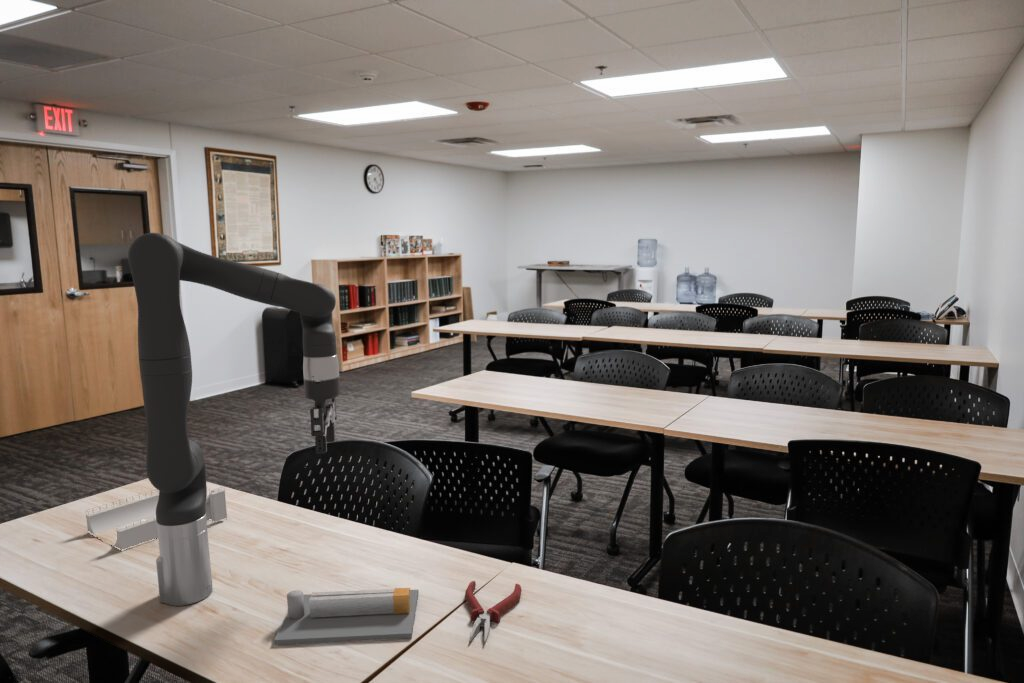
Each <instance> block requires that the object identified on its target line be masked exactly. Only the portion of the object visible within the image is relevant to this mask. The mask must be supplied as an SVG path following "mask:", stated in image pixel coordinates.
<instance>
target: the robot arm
mask: <svg viewBox="0 0 1024 683" xmlns="http://www.w3.org/2000/svg"><path fill="white" fill-rule="evenodd" d="M127 261H128V265H129V269H130V273H131V277H132V278H131V279H132V280H133V281H132V282H133V286H134V292H135V297H136V303H137V304H136V305H137V347H138V348H137V350H138V351H137V352H138V354H137V355H138V365H139V367H138V368H139V375H140V382H141V389H142V398H143V399H142V400H143V401H142V402H143V408H144V414H145V421H146V460H145V461H146V462H145V463H146V464H145V465H146V466H145V467H146V468H145V469H146V470H145V471H146V476H147V478H148V480H149V482H150V484H151V485H152V486H153V487H154V488H155V490H157V489H158V493H159V498H158V503H157V507H156V521H157V530H158V539H157V540H158V548H159V549H158V550H159V556H157V558H156V559H155V565H156V566H155V567H156V573H157V583H158V594H159V602H160V603H161V604H162V603H164V604H168V605H170V606H174V607H175V606H176V607H177V606H178V607H179V606H188V605H191V604H195V603H198V602H200V601H202V600H205V599H206V598H208V597H209V595H211V594H212V592H213V578H212V566H211V556H210V555H211V554H210V546H209V545H210V544H209V543H210V542H209V533H208V531H209V530H208V525H207V524H208V523H207V522H208V521H207V520H206V508H205V505H206V499H207V498H208V496H207V494H208V489H207V488H208V487H207V474H206V473H207V472H206V461H205V455H204V452H203V450H202V448H201V446H200V445H199V444H198V443H197V442H196V441H194V440H192V439H190V438H189V433H188V432H189V431H188V415H189V414H188V412H189V406H190V400H191V394H192V388H193V387H192V386H193V385H192V384H193V368H192V366H193V365H192V355H191V354H192V353H191V345H190V340H189V335H188V331H187V328H186V324H185V320H184V317H183V313H182V309H181V300H180V299H181V298H180V293H181V292H180V289H181V288H180V287H181V286H180V285H181V284H180V281H181V282H189V283H195V284H200V285H203V286H207V287H210V288H214V289H217V290H220V291H223V292H226V293H229V294H231V295H234V296H238V297H240V298H243V299H246V300H249V301H254V302H257V303H262V304H265V305H269V306H274V307H279V308H284V309H286V310H289V311H293V312H296V313H299V315H300V316H299V317H300V323H301V329H302V351H303V352H302V353H303V359H302V360H303V361H302V362H303V364H302V370H303V372H302V373H303V388H304V398H306V399H307V400H311V401H314V406H312V408H310V410H309V414H310V436H311V437H312V438H314V441H315V452H316V454H318V455H320V454H321V455H322V454H323V455H324V454H327V451H328V445H327V444H328V443H333V442H335V441H336V435H335V434H336V433H335V426H336V421H337V420H338V419H337V418H338V416H337V405H336V404H337V403H336V398H338V397H339V396H340V394H341V380H340V365H339V359H338V352H337V350H338V349H337V337H336V333H335V332H336V331H335V330H334V326H333V325H334V324H333V311H334V309H335V307H336V300H337V299H336V296H335V294H334V292H333V291H332V290H331V288H329V287H327V286H326V285H323V284H320V283H314V282H310V281H305V280H302V279H297V278H292V277H290V276H288V275H286V274H283V273H280V272H277V271H274V270H271V269H268V268H264V267H260V266H256V265H251V264H246V263H243V262H238V261H233V260H229V259H225V258H221V257H218V256H214V255H212V254H211V255H210V254H208V253H205V252H202V251H199V250H196V249H194V248H192V247H190V246H188V245H185V244H182V243H180V242H178V241H177V240H175V239H174V238H172V237H170V236H168V235H166V234H164V233H158V232H147V233H143V234H141V235H140V236H138V237H136V238H135V239H134V240H133V241H132V243H131V244H130V246H129V248H128V251H127ZM319 428H320V430H318V429H319Z"/></svg>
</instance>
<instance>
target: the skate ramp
mask: <svg viewBox="0 0 1024 683" xmlns="http://www.w3.org/2000/svg"><path fill="white" fill-rule="evenodd" d="M156 490H157V491H155V494H153V492H154V490H152V489H151V490H150V491H148V493H145V495H144V493H139V494H138V496H136V497H135V498H134V495H133V496H130V497H127V498H125V500H124V498H123V499H121V500H118V502H121V501H122V500H124V501H122V503H119V504H118V503H115V502H114V501H113V502H109V503H108V505H109V504H110V505H111V504H112V505H113V506H112V507H108V505H105V506H104V504H103V505H101V506H98V507H99V508H98V509H95V510H94V507H93V508H91V509H88V511H87V512H86V513H85V517H86V518H85V519H86V526H87V528H86V529H87V532H88V531H90V532H91V533H93V534H96V533H100V532H104V531H107V530H110V529H114V528H116V527H121V526H124V525H126V524H129V523H132V522H135V521H139V520H140V523H137V524H134V523H133V525H131V526H128V527H127V526H126V527H125V528H122V529H119V530H117V529H118V528H117V529H116V532H117V540H116V543H115V545H114V546H116V547H118V548H120V549H121V550H122V549H125V548H128V547H130V546H134V545H137V544H139V543H142V542H145V541H149V540H152V539H155V538H158V530H157V521H156V517H155V518H152V519H149V520H148V519H147V518H151V517H154V516H156V507H157V503H158V498H159V490H158V489H156ZM225 490H226V489H225V486H224V485H222V484H221V485H220V487H218V488H215V489H210V488H209V490H208V491H209V494H208V496H207V497H206V505H205V508H206V520H209V519H212V520H211V524H212V523H213V524H214V525H215V524H216V525H217V522H219V521H221V520H223V519H224V520H227V521H228V519H227V518H228V513H227V512H228V511H227V501H226V491H225ZM149 492H150V493H149ZM156 492H157V493H156ZM142 494H143V495H144V497H141V495H142ZM148 494H151V495H148ZM147 495H148V496H147ZM129 498H132V500H131V501H128V499H129ZM136 498H138V499H136ZM125 501H126V502H125ZM124 502H125V503H124ZM116 504H118V505H116ZM102 506H104V507H102ZM101 507H102V510H101ZM103 508H105V509H103ZM89 510H90V511H91V510H92V513H90V511H89ZM96 510H99V511H96ZM94 511H95V512H94ZM142 519H147V520H146V521H143V522H141V520H142ZM209 521H210V520H209Z"/></svg>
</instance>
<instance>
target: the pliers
mask: <svg viewBox="0 0 1024 683" xmlns="http://www.w3.org/2000/svg"><path fill="white" fill-rule="evenodd" d="M476 585H477V584H476V581H474V580H472V581H470V583H469V584H468V585H467V587H466V590H465V594H464V596H465V597H464V598H465V601H466V604H468V607H469V608H470V610H471V611H470V614H469V615H470V617H469V618H470V621H471V622H472V621H473V622H474V623H473V626H472V629H471V633H470V637H469V640H468V641H469V643H470V642H472V640H473V639H474V638H475V637H476V636H477V634H479V633H480V631H481V627H484V642H486V641H487V638H488V636H489V634H490V632H491V626H490V625H491V623H493V622H494V623H496V624H499V623H500V622H501V616H503V615H504V614H505V613H507V612H508V611H510V610H511V609H512V608H514V607H516V605H517V604H518V603H519V602H520V600H521V596H522V587H521V584H519V583H515V585H514V590H513V592H511V594H509V595H508V596H506V597H505V598H504V599H502V600H501V601H499V602H498V603H496V604H494V605H493V606H492V607H489V608H488V609H487V610H486V612H485V609H484V608H483V607H482V605H481V604H480V603H479V600H478V599H477V598H476V596H475V594H474V593H473V592H475V591H474V590H476V588H477V586H476ZM475 587H476V588H475Z"/></svg>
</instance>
